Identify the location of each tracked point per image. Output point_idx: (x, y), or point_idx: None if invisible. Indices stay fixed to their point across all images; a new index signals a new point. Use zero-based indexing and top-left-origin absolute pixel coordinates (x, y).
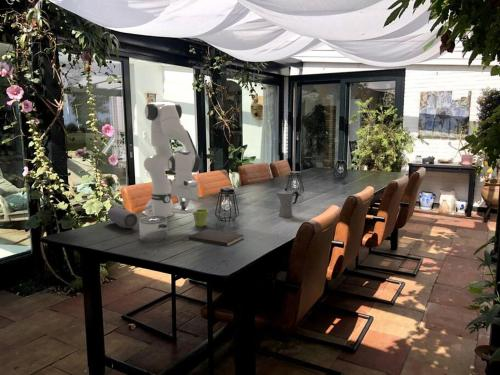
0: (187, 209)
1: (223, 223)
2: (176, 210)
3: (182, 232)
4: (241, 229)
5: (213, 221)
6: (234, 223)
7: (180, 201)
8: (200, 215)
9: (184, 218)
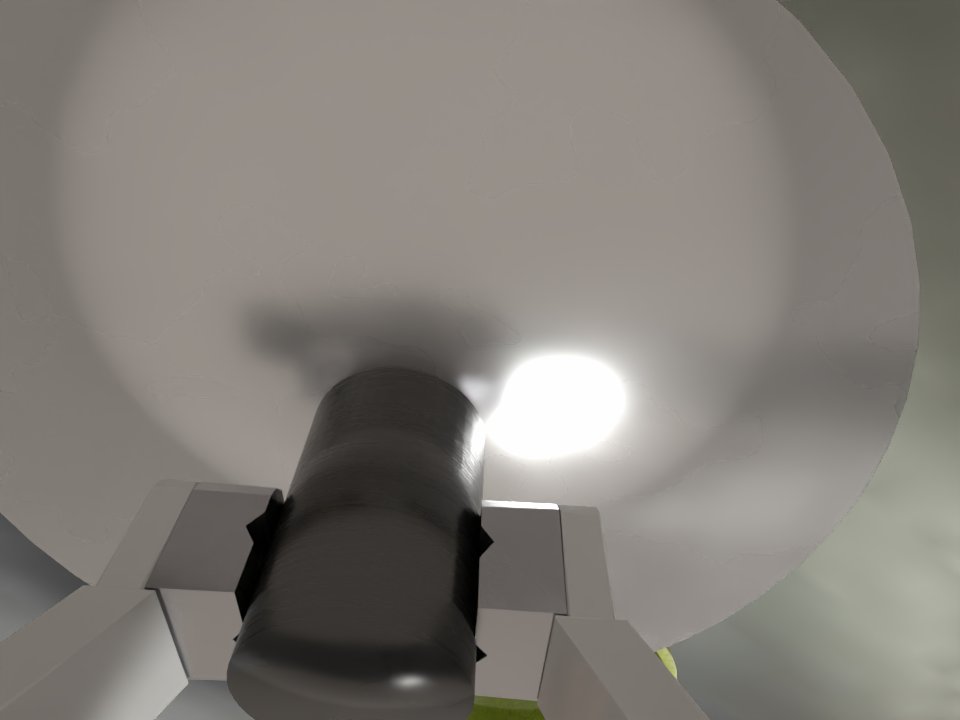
0: (252, 460)
1: None
2: (352, 79)
3: None
4: (30, 616)
5: None
6: None
7: (572, 664)
8: None
9: (950, 570)
